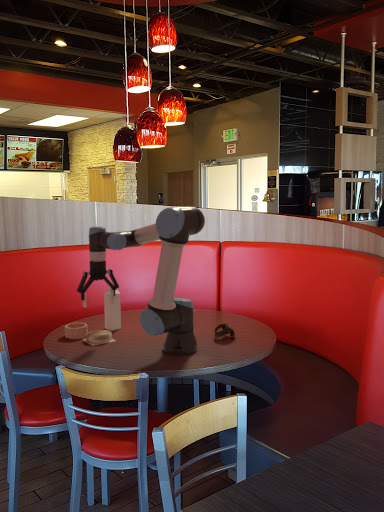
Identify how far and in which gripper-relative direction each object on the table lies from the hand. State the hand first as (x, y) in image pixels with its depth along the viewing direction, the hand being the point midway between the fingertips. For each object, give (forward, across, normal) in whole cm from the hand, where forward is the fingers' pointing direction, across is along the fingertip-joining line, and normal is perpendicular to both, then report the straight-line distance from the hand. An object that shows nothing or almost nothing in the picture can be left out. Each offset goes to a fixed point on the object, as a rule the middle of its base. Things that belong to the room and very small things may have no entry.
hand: (98, 305), depth 220 cm
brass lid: (+17, 0, 0) cm, 17 cm away
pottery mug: (+17, -51, +31) cm, 62 cm away
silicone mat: (+17, 0, 0) cm, 17 cm away
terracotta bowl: (+18, +6, -12) cm, 22 cm away
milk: (+18, -14, -14) cm, 26 cm away
